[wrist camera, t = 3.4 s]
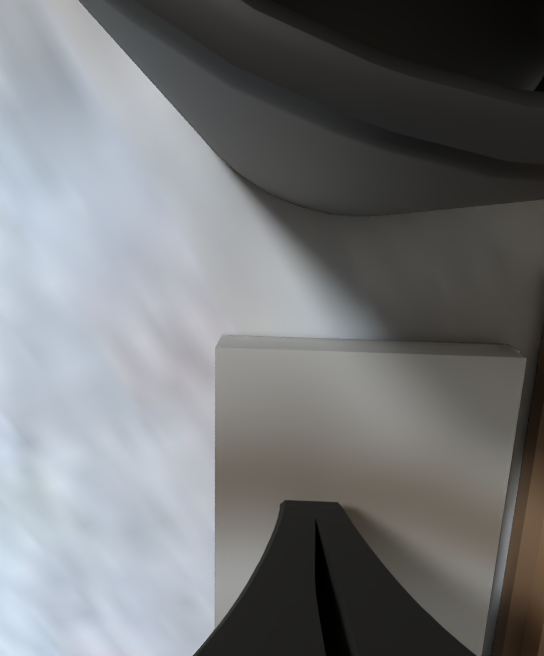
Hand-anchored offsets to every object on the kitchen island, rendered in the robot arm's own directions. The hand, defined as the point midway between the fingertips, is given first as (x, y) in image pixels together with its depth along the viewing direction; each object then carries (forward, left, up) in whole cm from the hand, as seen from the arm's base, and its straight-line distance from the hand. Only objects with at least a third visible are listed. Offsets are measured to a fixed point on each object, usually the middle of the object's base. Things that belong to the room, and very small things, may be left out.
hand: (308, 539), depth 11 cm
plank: (+1, -1, -2) cm, 2 cm away
